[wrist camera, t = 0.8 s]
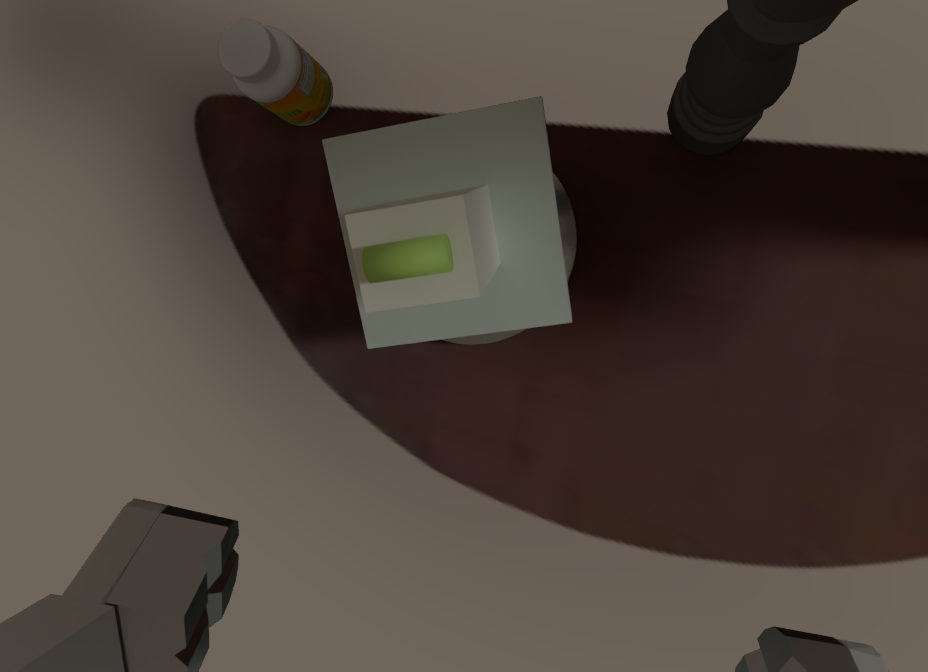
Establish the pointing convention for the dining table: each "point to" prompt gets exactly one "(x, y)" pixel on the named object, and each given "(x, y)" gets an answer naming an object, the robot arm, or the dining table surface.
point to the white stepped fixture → (452, 225)
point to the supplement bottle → (275, 72)
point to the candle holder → (742, 69)
